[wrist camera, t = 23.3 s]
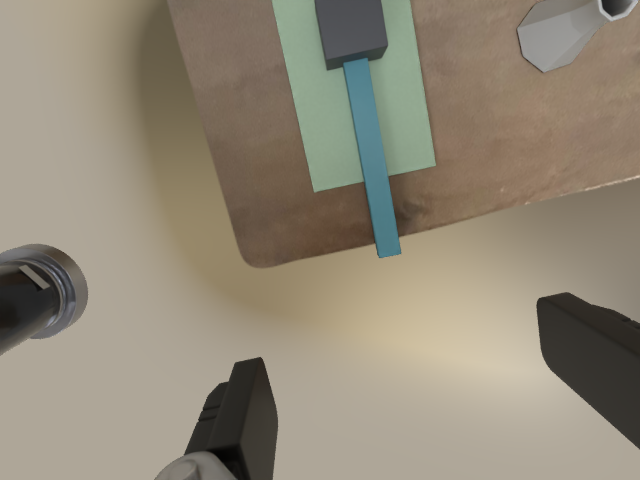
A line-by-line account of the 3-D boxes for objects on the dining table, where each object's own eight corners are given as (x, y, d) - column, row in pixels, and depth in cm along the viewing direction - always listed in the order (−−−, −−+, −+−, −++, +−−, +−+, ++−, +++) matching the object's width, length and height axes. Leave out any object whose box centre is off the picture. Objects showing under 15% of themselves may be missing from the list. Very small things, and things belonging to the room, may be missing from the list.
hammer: (413, 247, 47) (422, 257, 42) (362, 256, 47) (366, 268, 42) (370, -13, 42) (375, -36, 37) (313, 0, 42) (310, -20, 37)
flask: (539, 85, 44) (599, 65, 34) (504, 27, 42) (555, -11, 33) (599, 42, 43) (680, 8, 33) (565, -19, 41) (637, -73, 32)
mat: (434, 165, 46) (436, 165, 45) (314, 191, 47) (313, 192, 46) (400, -48, 41) (402, -51, 41) (268, -14, 42) (268, -17, 42)
